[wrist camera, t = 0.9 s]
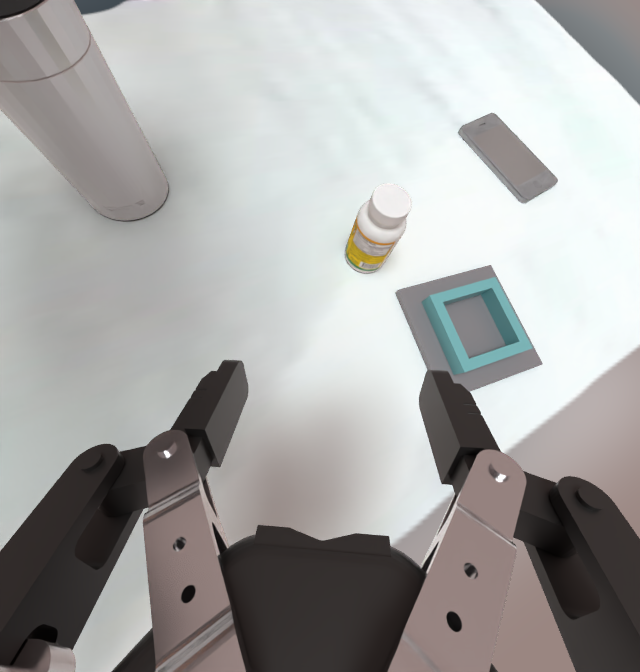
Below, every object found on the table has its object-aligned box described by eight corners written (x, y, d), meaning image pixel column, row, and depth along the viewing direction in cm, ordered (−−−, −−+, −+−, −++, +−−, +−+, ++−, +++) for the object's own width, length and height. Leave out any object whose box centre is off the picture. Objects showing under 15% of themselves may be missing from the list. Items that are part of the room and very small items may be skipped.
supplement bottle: (364, 282, 34) (392, 233, 25) (335, 252, 35) (353, 194, 25) (392, 258, 35) (429, 205, 26) (364, 230, 36) (391, 169, 27)
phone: (519, 207, 41) (526, 201, 40) (453, 134, 44) (458, 126, 43) (552, 187, 43) (560, 181, 42) (487, 119, 46) (493, 111, 44)
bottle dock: (395, 292, 34) (404, 282, 31) (486, 268, 37) (502, 256, 34) (441, 400, 31) (455, 399, 28) (536, 365, 34) (558, 361, 31)
